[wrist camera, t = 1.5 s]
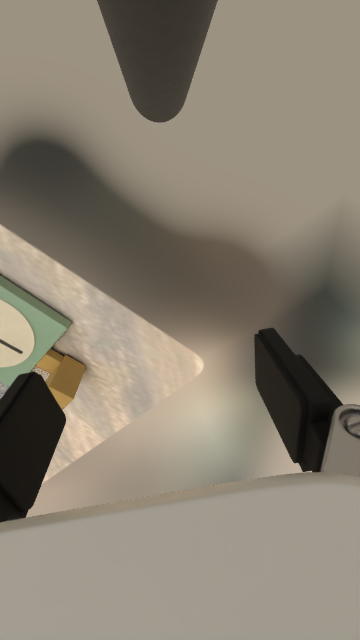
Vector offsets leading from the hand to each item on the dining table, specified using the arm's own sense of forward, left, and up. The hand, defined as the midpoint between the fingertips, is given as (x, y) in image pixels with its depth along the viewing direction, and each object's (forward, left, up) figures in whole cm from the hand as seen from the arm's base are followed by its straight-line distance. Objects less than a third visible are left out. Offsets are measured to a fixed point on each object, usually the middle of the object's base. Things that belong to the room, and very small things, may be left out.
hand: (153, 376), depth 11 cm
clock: (+18, -6, -17) cm, 26 cm away
